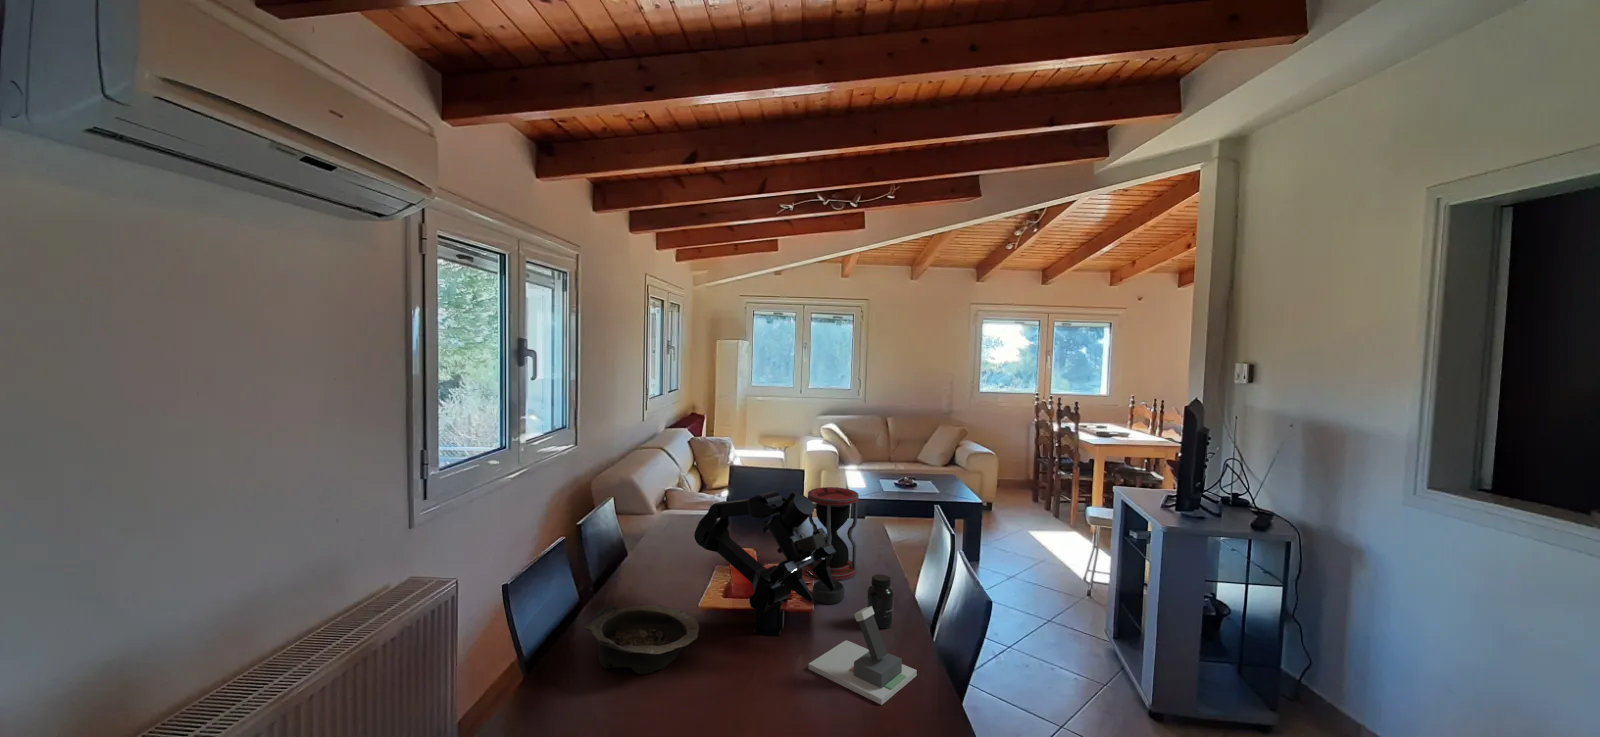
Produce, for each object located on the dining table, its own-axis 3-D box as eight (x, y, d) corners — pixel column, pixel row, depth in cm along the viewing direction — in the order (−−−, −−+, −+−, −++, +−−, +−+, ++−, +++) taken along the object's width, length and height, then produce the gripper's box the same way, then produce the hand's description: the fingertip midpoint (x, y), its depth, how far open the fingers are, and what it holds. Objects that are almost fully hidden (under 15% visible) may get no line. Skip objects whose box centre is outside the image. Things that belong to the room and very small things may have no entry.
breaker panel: (808, 668, 128) (808, 650, 128) (846, 644, 139) (846, 627, 139) (881, 705, 116) (882, 684, 116) (916, 675, 126) (917, 656, 126)
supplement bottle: (892, 631, 146) (893, 584, 146) (865, 627, 148) (866, 581, 147) (893, 618, 153) (894, 573, 152) (867, 615, 154) (868, 571, 154)
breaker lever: (871, 661, 123) (854, 614, 126) (881, 654, 126) (864, 608, 129) (878, 660, 122) (861, 612, 125) (889, 653, 125) (871, 606, 128)
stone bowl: (560, 671, 125) (562, 628, 125) (633, 628, 148) (635, 592, 149) (657, 697, 116) (659, 650, 116) (719, 647, 139) (720, 608, 140)
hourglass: (860, 564, 190) (861, 488, 189) (853, 583, 175) (855, 501, 174) (811, 559, 194) (813, 485, 193) (801, 577, 178) (802, 497, 177)
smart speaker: (844, 606, 160) (845, 591, 160) (812, 605, 160) (812, 591, 160) (843, 592, 169) (843, 578, 169) (812, 591, 169) (812, 578, 169)
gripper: (779, 528, 130) (817, 590, 123) (830, 511, 144) (866, 566, 138) (754, 554, 135) (789, 615, 129) (805, 535, 150) (839, 589, 143)
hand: (822, 595), depth 134 cm, fingers open, 8 cm apart
